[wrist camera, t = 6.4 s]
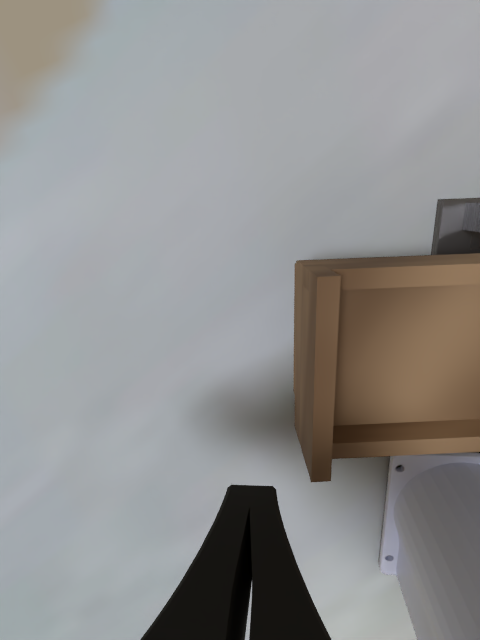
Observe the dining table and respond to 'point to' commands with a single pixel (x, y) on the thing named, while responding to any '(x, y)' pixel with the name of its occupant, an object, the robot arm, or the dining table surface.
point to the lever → (386, 357)
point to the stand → (457, 227)
